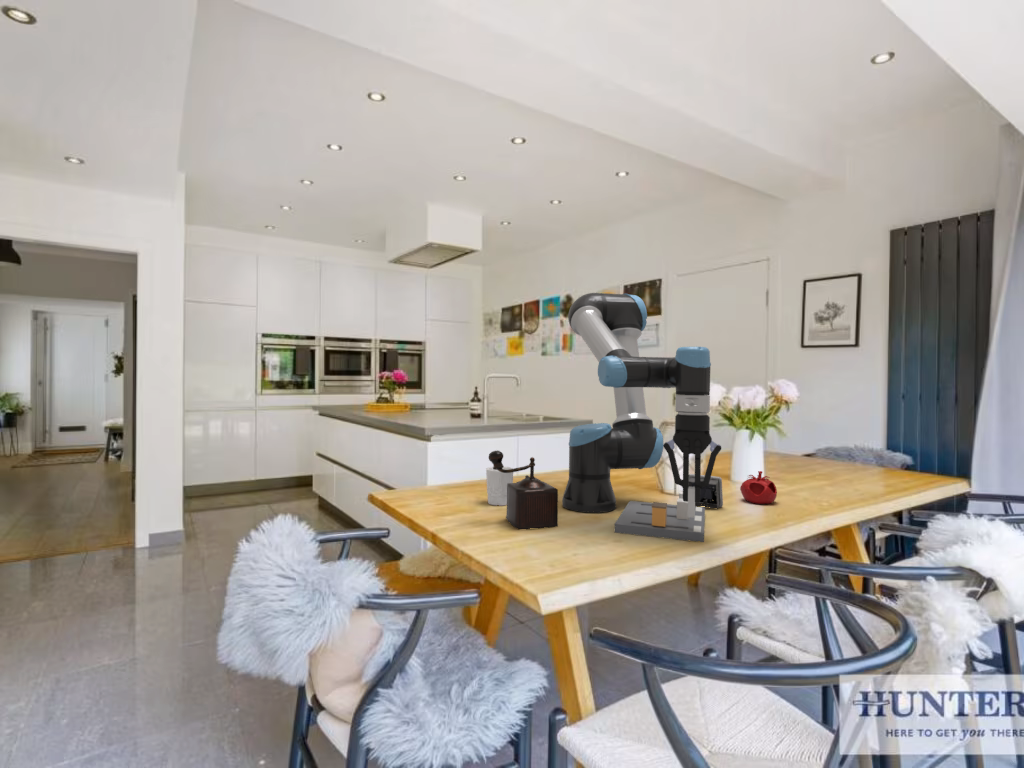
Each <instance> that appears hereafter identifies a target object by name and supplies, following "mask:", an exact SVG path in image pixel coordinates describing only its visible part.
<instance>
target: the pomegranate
mask: <svg viewBox="0 0 1024 768" xmlns="http://www.w3.org/2000/svg"><path fill="white" fill-rule="evenodd" d="M762 474H763V471H758V474H757V475H756V476H757V477H756V476H755V475H753V474H748V478H747V479H746V480H744V481H743V482H741V485H740V488H739V489H740V493H741V495H742V497H743V499H745V500H746V501H747V502H748V503H751V504H759V505H765V504H767V505H768V504H769V505H770V504H772V503H774V501H775V500H776V499H777V494H778V490H777V487H776V485H775V483H774V482H773V481H772V480H770V479H769V478H770V477H771V476H767V475H764V476H762Z"/></svg>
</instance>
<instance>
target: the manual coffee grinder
mask: <svg viewBox="0 0 1024 768" xmlns="http://www.w3.org/2000/svg"><path fill="white" fill-rule="evenodd" d="M503 459H504V453H503V452H501V451H500V450H497V449H496V450H493V451H491V452H490V453H489V454H488V461H490V463H491V464H492V465H493V466H492V467H493V469H494V470H498V471H500V472H503V473H511V472H513V473H517V472H521V471H525V470H527V469H530V471H529V475H527V474H526V475H525V478H522V480H519V481H516V482H513V483H507V505H506V516H505V519H506V520H507V522H508V523H509V522H510V523H511V526H513V527H514V528H515V529H517V528H518V529H517V530H519V529H526V530H531V529H530V528H538V529H545V528H544V527H548V528H554V527H555V526H557V527H558V525H559V524H558V522H559V521H558V520H559V513H558V511H559V500H558V499H559V490H558V488H556V487H555V486H553V485H551V484H550V483H547V482H545V481H542V480H541V479H539V478H537V477H535V476H534V475H535V473H534V471H535V466H536V463H535V461H536V459H535V457H533V456H532V457H530V458H529V464H526V465H525V466H520V467H515V468H513V469H508V470H504V469H502V468H503V467H505V466H504V464H503ZM510 523H509V524H510ZM555 528H556V527H555Z"/></svg>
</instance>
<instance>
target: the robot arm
mask: <svg viewBox="0 0 1024 768" xmlns="http://www.w3.org/2000/svg"><path fill="white" fill-rule="evenodd" d="M647 312H648V311H647V307H646V305H645V302H644V301H643V299H642V298H641V297H639V296H638V295H635V294H628V293H622V294H621V293H602V292H601V293H600V292H590V293H589V292H588V293H586V294H583V295H581V296H579V297H578V298H577V299H576V300H575V301H573V302H572V304H571V305H570V308H569V311H568V318H567V319H568V322H569V326H570V328H571V330H572V331H573V332H574V333H575V334H576V335H578V336H580V337H581V338H582V340H583V341H584V342H585V344H586V345H587V347H588V349H590V351H591V353H592V355H593V356H594V357H595V358H596V361H597V362H598V364H597V365H598V366H597V378H598V382H599V383H600V384H601V385H602V386H603V387H609V388H613V394H614V404H615V413H616V418H615V419H614V420H613V422H612V423H611V424H612V425H611V424H610V423H605V422H601V423H599V422H597V423H587V424H580V425H576V426H574V427H573V428H571V430H570V432H569V438H568V439H569V442H568V448H569V449H568V457H569V458H568V480H567V482H566V486H565V488H564V492H563V496H562V500H561V501H562V507H563V508H565V509H566V510H569V511H575V512H581V513H607V512H612V511H614V510H616V508H617V498H616V495H615V492H614V489H613V485H612V482H611V470H630V469H631V470H632V469H638V470H643V469H650V468H654V467H656V466H657V465H658V464H659V463H660V460H661V457H662V455H663V452H664V449H665V451H666V452H667V456H668V461H669V464H670V468H671V473H672V477H673V482H674V483H675V485H678V486H680V487H681V488H682V491H683V501H686V502H688V517H694V518H695V507H696V506H695V502H700V489H701V488H702V487H705V486H708V485H709V481H710V478H711V476H712V473H713V470H714V466H715V462H716V460H717V456H718V454H719V453H720V452H721V450H722V445H721V444H718V443H716V442H714V441H713V439H712V436H711V434H710V431H711V430H710V424H711V423H710V419H711V418H710V416H709V415H708V413H710V411H711V409H710V407H711V394H710V393H711V366H712V362H711V351H710V350H709V348H708V347H706V346H682V347H681V346H680V347H678V348H677V350H676V352H675V356H674V357H673V356H672V357H671V356H669V357H667V356H666V357H664V356H663V357H661V356H659V357H658V356H656V357H655V356H640V352H639V351H640V350H639V343H638V340H639V338H640V337H641V336H642V332H643V331H644V330H645V329H646V327H647V324H648V323H647V319H648V313H647ZM644 388H654V389H655V388H658V389H659V388H661V389H672V388H673V389H674V388H675V412H676V413H677V414H676V415H675V418H674V419H675V420H674V421H675V422H674V423H675V424H674V427H675V428H674V429H675V430H674V434H673V435H672V438H671V439H670V440H669V441H666V442H664V436H663V434H662V431H661V429H660V428H658V427H654V423H653V420H652V418H650V417H649V416H648V415H647V411H646V401H645V393H644ZM675 445H676V446H677V448H678V450H680V452H681V453H682V478H681V477H680V476H681V475H680V472H679V468H678V464H677V459H676V455H675V452H674V449H675ZM708 447H710V448H709V450H710V452H711V453H710V455H709V458H708V461H707V466H706V470H705V473H704V475H705V477H704V480H703V481H700V479H701V475H702V474H701V472H702V471H701V470H702V469H701V463H702V462H701V458H702V453H704V452H705V450H706V449H707V448H708ZM692 454H693V455H694V474H695V487H689V474H690V455H692Z"/></svg>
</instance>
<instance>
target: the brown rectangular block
mask: <svg viewBox="0 0 1024 768" xmlns="http://www.w3.org/2000/svg"><path fill="white" fill-rule="evenodd" d="M652 503H653V504H652V525H653V526H662V527H665V526H666V523H667V504H668V502H658V501H653V502H652Z"/></svg>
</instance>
